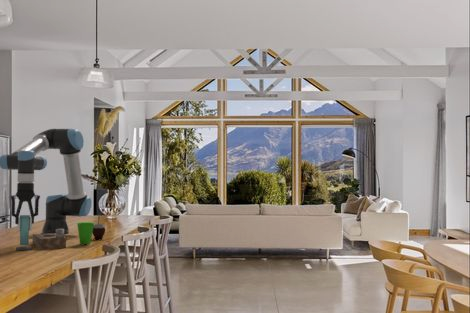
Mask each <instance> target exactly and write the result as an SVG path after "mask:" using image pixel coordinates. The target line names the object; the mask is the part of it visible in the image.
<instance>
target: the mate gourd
mask: <svg viewBox="0 0 470 313" xmlns="http://www.w3.org/2000/svg"><path fill="white" fill-rule="evenodd" d="M100 218H101V213H98V217H97V220H98V221H97V224H94V227H93V232H92V236H93V237H94V238H93V239H98V240H99V239H102V238H103V237H104V235H105V233H106V227H105V225H104V224H100ZM103 239H104V238H103Z"/></svg>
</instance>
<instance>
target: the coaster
mask: <svg viewBox="0 0 470 313" xmlns="http://www.w3.org/2000/svg"><path fill="white" fill-rule="evenodd" d="M32 249H33V247H32V246H18V247H16V249H15V250H16V252H17V251H19V252H20V251H21V252H26V251H27V250H28V251H32Z"/></svg>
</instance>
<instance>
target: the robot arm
mask: <svg viewBox="0 0 470 313" xmlns="http://www.w3.org/2000/svg"><path fill="white" fill-rule="evenodd" d="M83 147H84V137H83V134H82V132H81V131H80V130H79V129H76V128H75V129H74V128H49V129H46V130H43V131H41V132H39V133H38V134H36V135H35V136H33V138H32V140H31V141H29V142H27V143H26V144H24V145H23V146H21V147H20V148H18V149H17V150H15V151H14V152H11V153H10V154H7V153H6V154H1V156H0V168H1V169H2V170H8V171H9V170H11V171H12V170H14V171H16V170H17V183H16V185H17V187H16V189H17V190H16V193H15V194H12V195H10V201H11V207H10V212H11V216H12V217H13V218H15V222H14V223H15V225H17V226H16V227H17V231H18V232H20V215H21V214H20V213H21V210H22V205H23V203H24V202H25V203H26V202H27V205H28V209H29V215H30V218H29V232H31V231H32V228H33V227H32V226H33V224H35V217H37V216H39V203H40V199H41V196H40V195H38V194H35V190H34V189H35V188H34V187H35V184H34V182H35V171H41V170H42V171H43V170H45V168H47V165H48V161H47V160H48V159H47V158H46V157H45V156H43V155H40V154H39V153H41V152H44V151H47V150H59V154H60V155H61V156H62V158H63V163H64V164H63V165H64V170H65V178H66V184H67V192H68V193H67V194H66V193H63V194H54V195H47V197H46V199H45V200H46V201H45V221H44V224H43V227H42V230H41V234H47V233H56V229H64V235H66V234H69V232H70V229H69V224H68V223H67V217H79V218H80V217H87V216H88V215H89V213H90V211H91V209H92V204H93V203H92V198H91V197H90V196H88V194H87V192H86V191H85V190H84V184H83V178H82V169H81V163H80V154H79V153H81V152H82V151H81V150H82V149H83ZM33 198H34V199H35V200H34V209H33V204H32V199H33ZM16 199H18V205H17V207H16ZM16 208H17V209H16Z"/></svg>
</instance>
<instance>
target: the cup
mask: <svg viewBox="0 0 470 313" xmlns="http://www.w3.org/2000/svg"><path fill="white" fill-rule="evenodd" d="M76 225H77V231H78V240H79V244H80V245H81V244H89V245H91V243H92V236H93V227H94V225H96V224H95V222H91V221H90V222H89V221H84V222H77V223H76Z"/></svg>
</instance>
